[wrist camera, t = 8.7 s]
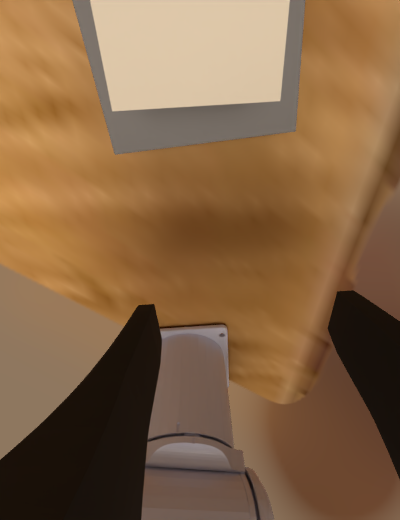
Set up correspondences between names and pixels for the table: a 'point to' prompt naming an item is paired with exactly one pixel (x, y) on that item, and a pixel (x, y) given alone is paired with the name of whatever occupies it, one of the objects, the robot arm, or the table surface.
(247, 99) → the cream cube
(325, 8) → the table surface
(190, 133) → the charcoal base
